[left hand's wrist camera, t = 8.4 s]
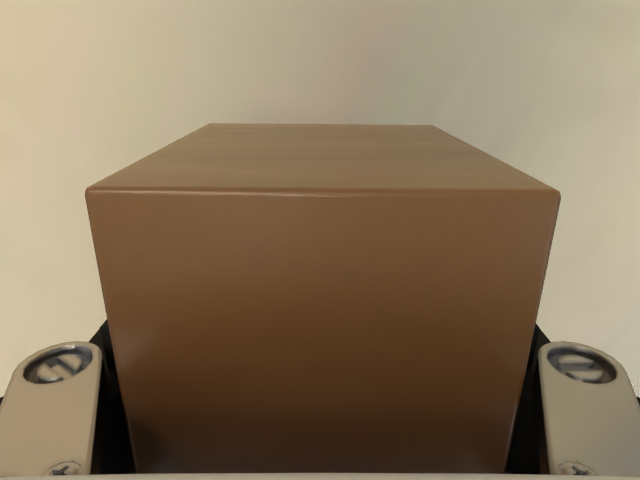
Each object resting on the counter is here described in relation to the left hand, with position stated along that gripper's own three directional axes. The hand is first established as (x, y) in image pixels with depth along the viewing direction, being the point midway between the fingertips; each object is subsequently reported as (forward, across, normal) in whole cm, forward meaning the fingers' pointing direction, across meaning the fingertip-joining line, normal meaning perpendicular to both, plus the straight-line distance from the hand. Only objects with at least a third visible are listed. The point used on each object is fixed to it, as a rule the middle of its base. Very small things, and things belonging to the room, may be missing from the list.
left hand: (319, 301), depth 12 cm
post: (+1, 0, -35) cm, 35 cm away
